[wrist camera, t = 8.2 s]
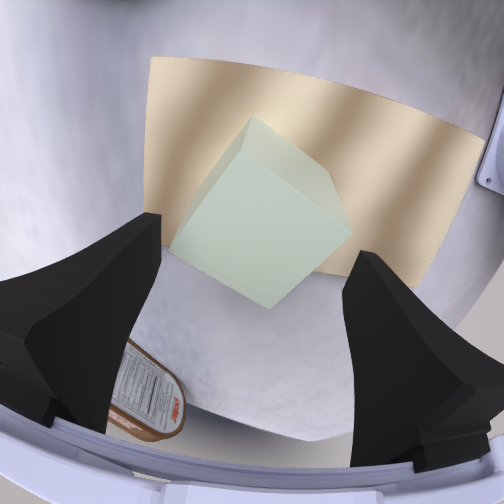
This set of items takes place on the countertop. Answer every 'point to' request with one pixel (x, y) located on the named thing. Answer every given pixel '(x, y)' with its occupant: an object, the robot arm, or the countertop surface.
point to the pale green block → (262, 217)
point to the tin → (146, 398)
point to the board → (312, 153)
